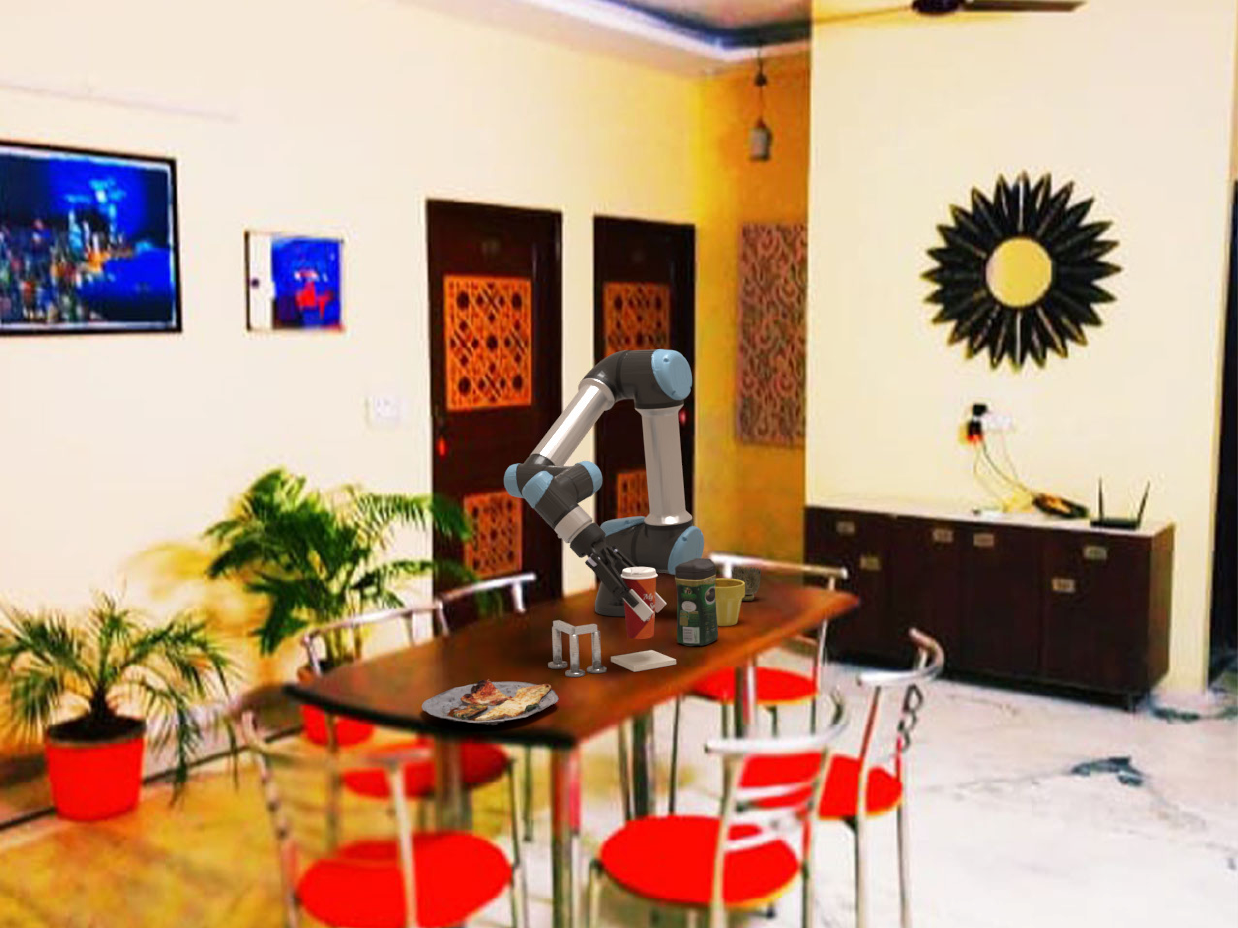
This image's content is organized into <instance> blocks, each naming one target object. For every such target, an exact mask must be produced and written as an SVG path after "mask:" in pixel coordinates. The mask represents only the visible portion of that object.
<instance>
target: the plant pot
mask: <svg viewBox="0 0 1238 928" xmlns="http://www.w3.org/2000/svg"><path fill="white" fill-rule="evenodd" d="M744 596H745V583H744V582H743V581H741V580H737V579H733V578H716V580H715V600H716V615H717V626H718V627H730V626H735V625H737V623H738V621H739V615H740V611H741V605H742V598H743V597H744Z"/></svg>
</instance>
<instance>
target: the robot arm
mask: <svg viewBox="0 0 1238 928" xmlns="http://www.w3.org/2000/svg"><path fill="white" fill-rule="evenodd" d="M692 385H693V376H692V371H691V367H690V364H689V362H688V361H687V359H686V357H684V356H683V354H682V353H681V352H679V351H677V350H673V349H664V348H659V349H658V348H657V349H655V348H654V349H637V350H636V349H635V350H631V349H625V350H620V351H617V352H614V353H612V354H610V355H608V356H607V357H604V358H603V359H601V360H600V361H599V362H598V363H597V364H596V365H594V366H593V367H592V368H591V369H590V370H588V372H587V374H585V375H584V377H583V378H582V380H581V381H580V382H579V384H578V386H577V387H578V388H577V390H578V391H577V393H576V394H575V395H574V397H573V398H572V400H571V401H570V402H569V403H568V405H567V406H566V407H565V408H564V410H563V411H562V413H561V414H560V416H559V417H558V418H557V419H556V420H555V422H554V423H553V424H552V425H551V427H550V429H548V431H547V433H545V435H544V436H543V438H542V439H541V440H540V441H539V443H538V444H537V445H536V447H535V448H534V449H533V450H532V452H531V453H530V454H529V457H527V458H526V460H525V461H524V463H514V464H511V465H509V466H508V467H507V469H506V470H505V472H504V476H503V485H504V488H505V490H506V492H507V494H508V495H510V496H511V497H515V498H521V499H525V501H526V502H527V503H528V505H529V506H530V508H532V509H533V510H534V511H535V512H536V513H537V514H538V515H539V516H540V517H541V518H542V520H544V521H545V523H546V524H548V525H549V526H550V528H551V529H553V530H554V532H555V533H556V534H557V537H558V539H562V541H564V543H566V544H569V548H570V549H571V550H572V552H574V553H575V555H577V557H578V558H580V559H582V558H585V557H586V556H587V559H586V560H585V562H584V563H585V565H586V566H587V567H589V569H590V570H592V572H593V573H594V574H595V575H596V576H597V578H598V579H599V580H600V584H599V587H598V591H597V593H596V598H595V601H594V612H596V614H599V615H602V616H607V617H625V607H624V601H625V602H626V603H627V604H628V605H629V606H630V607H631V608H632V609H633V610H634V611H635V612H636V614H637V615H638V616H639V617H640V618H641V619H642V620H643V621H646V620H647V619H648V618H649V617H650V616H651V615H652V614H653V613H654V612H653V611H652V610H651V608H650V607H649V606H648V605H647V604H646V603H645V602H644V601H643V600H642V599H641V598H640V597H639V596H638V595H637V594H636V592H635V591H634V590H633V589H631V590H630V591H629V588H628V586H627V585H626V583H625V582H624V580H623V579H622V577H621V574H622V571H623V569H625V568H630V567H650V568H654V569H655V570H656V573H662V574H664V573H665V574H669V575H674V576H675V567H676V566H678V565H679V564H681V563H684V562H687V561H690V560H693V559H695V558H702V557H703V553H704V549H705V535H704V534H703V532H702V529H700V528H699V527H697V526H696V525H694V523H693V516H692V514H690V513H689V512H688V511H687V510H686V500H685V488H684V476H683V475H684V474H683V472H684V471H683V465H682V464H683V463H682V461H683V460H682V450H681V436H680V423H679V421H680V420H679V411H680V410H681V409H682V408H683V406H684V400H685V399H687V397H688V396H689V395H690V393H691V388H692V387H693V386H692ZM623 400H633V403H634V409H635V411H637V412H638V413H639V414H640V415H641V421H642V433H643V446H644V458H645V469H646V480H647V481H646V482H647V483H646V485H647V492H648V495H647V496H648V504H649V505H648V506H649V507H648V508H649V513H648V514H647V516H641V515H639V516H638V515H637V516H629V517H622V518H615V519H614V518H613V519H610V520H607V521H604V522H602V523H601V525H600V526H599V525H598V523H597V522H593V518H592V517H591V516H590V515H589V514H588V513H587V511H586V510H585V509H584V508H583V507H582V506H581V505H580V504H579V503H581V502H583V501H585V500H586V499H588V498H590V497H592V496H593V495H595V493H596V492H598V491H599V490H600V489H601V487H602V485H603V475H602V472H601V470H600V468H599V466H598V465H597V464H596V463H594V462H592V461H590V460H582V461H580V462H576V463H575V464H573V465H565V464H567V462H568V460H569V459H570V457H571V456H572V455H573V453H574V452H575V451H576V449H577V448H578V447H579V445H580V444H581V442H582V441H583V440H584V439H585V437H586V436H587V434H588V433H589V432H590V431H591V429H592V428H593V426H594V425H595V423H596V422H597V421H598V419H600V417H601V415H602V414H603V413H604V411H608V410H609V411H610V410H611V409H612V408H613V407H614V405H615V404H616V403H617V402H619V401H623ZM666 605H667V602H666V601H665V600H664V599H663V598H662V597H661V596H660V595H659V594H658V593H657V592H656V594H655V613H659V612H660V611H661V610H662V609H663V608H664V607H665V606H666Z"/></svg>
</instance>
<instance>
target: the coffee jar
mask: <svg viewBox="0 0 1238 928" xmlns="http://www.w3.org/2000/svg"><path fill="white" fill-rule="evenodd" d="M716 573H717V572H716V564H715V563H714V562H713V560H712V559H711V558H702V557H701V558H695V559H693V560H690V561H687V562H684V563H681V564H679V565H678V566H676V567H675V575H674V581H675V586H676V598H677V600H676V601H677V609H676V613H677V614H676V617H677V620H676V641H677V643H679V644H681V645H684V646H688V647H694V646H706V645H709V644H710V643H712V642H714V641H716V640H717V639H718V638H719V631H718V630H719V629H718V628H719V626H717V615H716V600H715V580H716V579H717V575H716Z"/></svg>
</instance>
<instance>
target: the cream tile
mask: <svg viewBox="0 0 1238 928" xmlns="http://www.w3.org/2000/svg"><path fill="white" fill-rule="evenodd" d="M610 662H611V663H614V664H616V665H617V666H620V667H622V668H625V669H627V670H630V671H632V672H640V671H647V670H651V669H657V668H663V667H668V666H674V665H677V659H675V658H673V657H670V656H668V655H665V654H662V653H661V652H658V651H655V650H652V649H649V650H644V651H639V652H632V653H626V654H620V655H614V656H610Z"/></svg>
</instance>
